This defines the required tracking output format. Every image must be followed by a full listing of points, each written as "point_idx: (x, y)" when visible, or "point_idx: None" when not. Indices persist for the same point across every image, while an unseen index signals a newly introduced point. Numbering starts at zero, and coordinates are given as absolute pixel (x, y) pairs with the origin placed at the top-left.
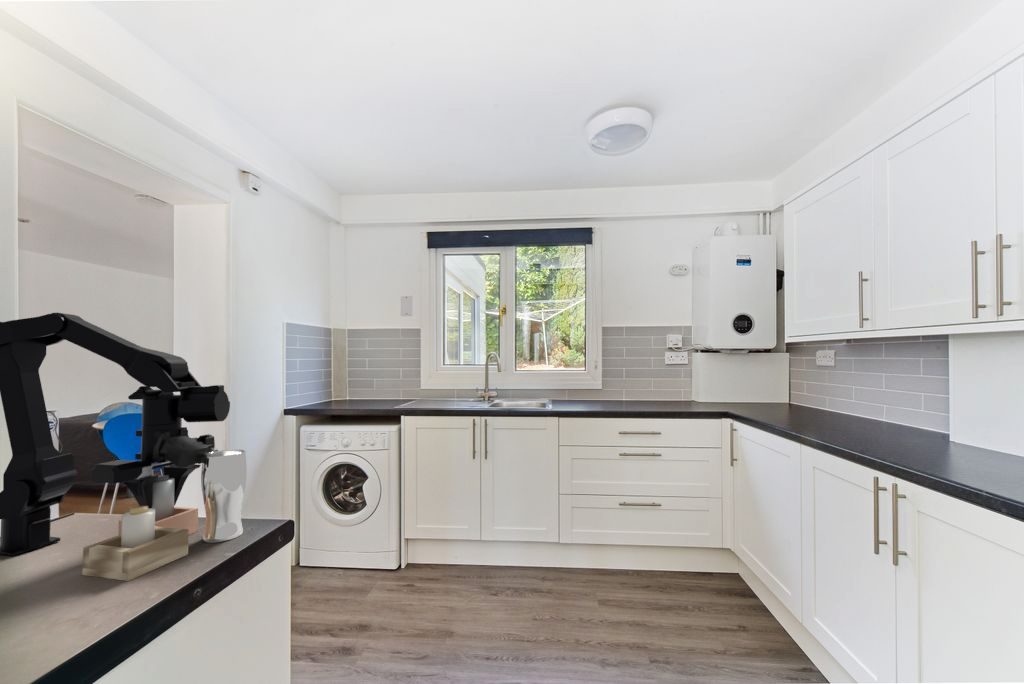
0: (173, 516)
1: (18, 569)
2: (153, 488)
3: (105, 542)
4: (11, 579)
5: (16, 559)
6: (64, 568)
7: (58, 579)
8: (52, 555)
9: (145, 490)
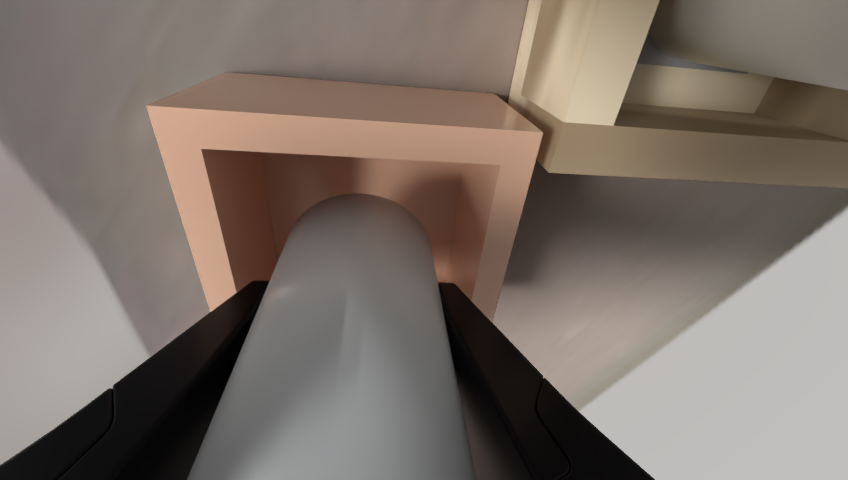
0: (380, 136)
1: (624, 362)
2: (472, 461)
3: (822, 142)
4: (694, 319)
5: None
6: (648, 262)
7: (749, 192)
8: None
9: (607, 447)
